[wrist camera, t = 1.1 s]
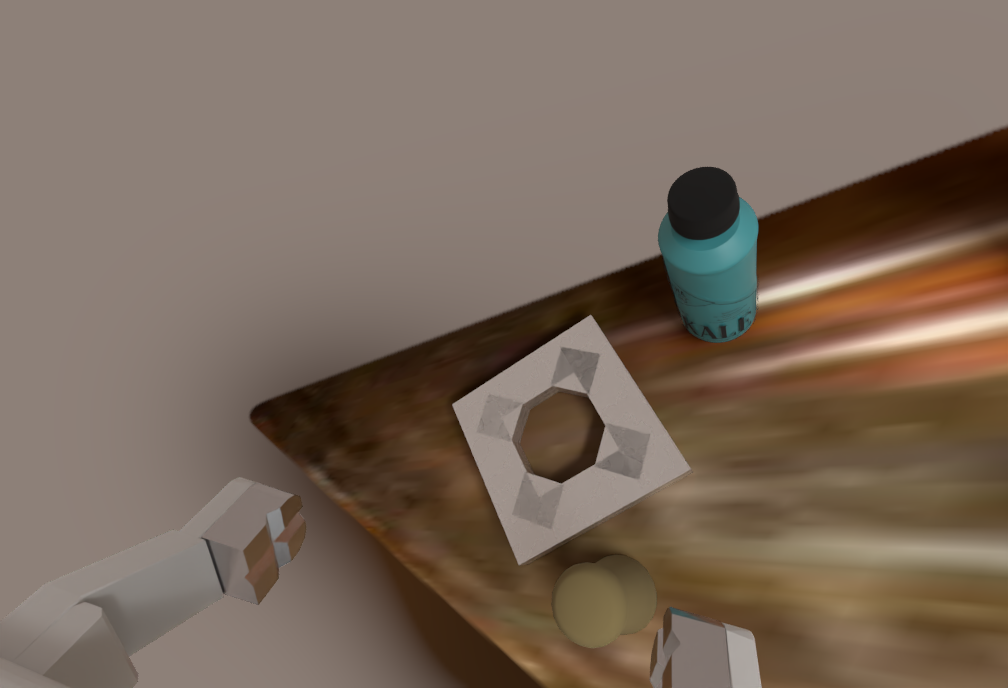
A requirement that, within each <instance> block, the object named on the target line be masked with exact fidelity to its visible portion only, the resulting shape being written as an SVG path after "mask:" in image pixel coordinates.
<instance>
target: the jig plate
mask: <svg viewBox="0 0 1008 688" xmlns="http://www.w3.org/2000/svg"><path fill="white" fill-rule="evenodd" d="M559 391H560V392H565V393H569V394H574V395H578V396H582V397H587V398H590V400H591V402H592V403H593V405H594V407H595V408H596V410H597V412H598V414H599V415H600V417H601V419H602V420H603V422H604V424H605V429H604V433H603V437H602V441H601V444H600V448H599V452H598V456H597V459H596V463H595V464H594V465H593V466H591V467H589V468H588V469H586V470H584V471H582V472H581V473H579V474H577V475H576V476H574V477H572V478H570V479H569V480H567V481H565V482H564V483H562V484H561V483H558V482H555V481H552V480H549V479H546V478H543V477H539V476H536V475H534V472H533V470H532V468H531V466H530V464H529V462H528V460H527V458H526V456H525V453H524V451H523V449H522V447H521V445H520V441H521V437H522V434H523V431H524V427H525V424H526V421H527V418H528V414H529V411H530V409H532V408H533V407H535V406H536V405H538V404H540V403H541V402H543V401H544V400H546V399H548V398H549V397H551V396H552V395H554V394H556V393H557V392H559ZM452 406H453V408H454V410H455V413H456V415H457V418H458V420H459V422H460V425H461V427H462V430H463V432H464V434H465V437H466V439H467V442H468V444H469V446H470V449H471V451H472V454H473V456H474V458H475V461H476V463H477V466H478V468H479V470H480V473H481V475H482V478H483V480H484V482H485V485H486V487H487V490H488V492H489V495H490V497H491V499H492V502H493V504H494V507H495V509H496V511H497V514H498V516H499V519H500V521H501V523H502V526H503V528H504V531H505V533H506V535H507V538H508V540H509V543H510V545H511V547H512V550H513V552H514V555H515V557H516V559H517V562H518V564H519V565H528V564H529V563H531V562H533V561H535V560H537V559H538V558H540V557H542V556H544V555H546V554H547V553H549V552H551V551H553V550H555V549H556V548H558V547H560V546H562V545H564V544H565V543H567V542H569V541H571V540H573V539H574V538H576V537H578V536H580V535H582V534H583V533H585V532H587V531H589V530H590V529H592V528H594V527H596V526H598V525H599V524H601V523H603V522H605V521H607V520H608V519H610V518H612V517H614V516H616V515H617V514H619V513H621V512H623V511H625V510H626V509H628V508H630V507H632V506H634V505H635V504H637V503H639V502H641V501H643V500H644V499H646V498H648V497H650V496H652V495H653V494H655V493H657V492H659V491H661V490H662V489H664V488H666V487H668V486H670V485H671V484H673V483H675V482H677V481H678V480H680V479H682V478H684V477H686V476H687V475H689V474H691V473H693V471H692V469H691V468H690V466H689V465H688V463H687V462H686V460H685V459H684V457H683V456H682V454H681V452H680V451H679V449H678V448H677V446H676V445H675V443H674V442H673V440H672V439H671V437H670V435H669V434H668V432H667V431H666V429H665V428H664V426H663V425H662V423H661V422H660V420H659V418H658V417H657V415H656V414H655V412H654V411H653V409H652V408H651V406H650V405H649V403H648V401H647V400H646V398H645V397H644V395H643V394H642V392H641V391H640V389H639V388H638V386H637V384H636V383H635V381H634V380H633V378H632V377H631V375H630V374H629V372H628V371H627V369H626V367H625V366H624V364H623V363H622V361H621V360H620V358H619V357H618V355H617V354H616V352H615V350H614V349H613V347H612V346H611V344H610V343H609V341H608V340H607V338H606V337H605V335H604V333H603V332H602V330H601V329H600V327H599V326H598V324H597V323H596V321H595V320H594V318H593V317H592V315H590V316H588V317H587V318H585V319H583V320H582V321H580V322H579V323H577V324H576V325H574V326H573V327H571V328H570V329H568V330H566V331H565V332H563V333H562V334H560V335H559V336H557V337H556V338H554V339H553V340H551V341H549V342H548V343H546V344H545V345H543V346H542V347H540V348H539V349H537V350H536V351H534V352H532V353H531V354H529V355H528V356H526V357H525V358H523V359H522V360H520V361H519V362H517V363H515V364H514V365H512V366H511V367H509V368H508V369H506V370H505V371H503V372H502V373H500V374H498V375H497V376H495V377H494V378H492V379H491V380H489V381H488V382H486V383H485V384H483V385H481V386H480V387H478V388H477V389H475V390H474V391H472V392H471V393H469V394H468V395H466V396H464V397H463V398H461V399H460V400H458V401H457V402H455V403H454V404H452Z"/></svg>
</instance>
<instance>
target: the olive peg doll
mask: <svg viewBox="0 0 1008 688" xmlns="http://www.w3.org/2000/svg"><path fill="white" fill-rule="evenodd" d="M551 605H552V610H553V616H554V619H555V621H556V623H557V625H558V627H559V629H560V630H561V631H562V632H563V633H564V635H565V636H566V637H567V638H568V639H570V640H571V641H573V642H575V643H576V644H578V645H580V646H584V647H589V648H597V647H604V646H606V645H607V644H609V643H611V642H612V641H614V640H615V639H617V637H618V636H619V635H627V634H633V633H636V632H638V631H640V630H642V629H643V628H645V627H646V626H647V624H648V623H649V622H650V621H651V619H652V618H653V615H654V612H655V609H656V606H657V593H656V589H655V585H654V582H653V580H652V578H651V576H650V575H649V573H648V571H647V570H646V569H645V568H644V567H643V566H642V565H641V564H640V563H639V562H638V561H636V560H634V559H632V558H630V557H628V556H623V555H616V554H615V555H611V556H606V557H604V558H602V559H601V560H599V561H597V562H596V563H589V562H584V563H580V564H575V565H573V566H571V567H570V568H568V569H566V570H565V571H564V572H563V573H562V575H561V576H560V577H559V578H558V580H557V581H556V584H555V586H554V589H553V592H552V603H551Z"/></svg>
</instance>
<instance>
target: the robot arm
mask: <svg viewBox="0 0 1008 688" xmlns="http://www.w3.org/2000/svg"><path fill="white" fill-rule="evenodd" d="M301 508H302V502H301V498H300V496H298V495H295V494H292V493H288V492H285V491H282V490H279V489H276V488H273V487H270V486H266V485H263V484H260V483H258V482H254V481H251V480H248V479H244V478H241V477H238V478H236V479H234V480H232V481H230V482H229V483H228V484H227V485H226V486H225V487H224V488H223V489H222V490H221V491H220V492H219V493H218V494H217V495H216V496H215V497H214V498H213V499H212V500H211V501H210V502H209V503H207V504H206V506H204V507H203V508H202V509H201V510H200V511H199V512H198V513H197V514H196V515H195V516H194V517H193V518H192V519H191V520H190V521H189V522H188V523H187V524H186V525H185V526H184V527H183V528H182V529H181V530H180V531H178V530H174V529H173V530H170V531H168V532H166V533H163V534H161V535H159V536H156V537H154V538H152V539H150V540H147V541H145V542H142V543H140V544H138V545H135V546H133V547H130V548H128V549H126V550H123V551H121V552H119V553H116V554H114V555H111V556H109V557H107V558H104V559H102V560H100V561H97V562H95V563H93V564H90V565H88V566H86V567H84V568H81V569H79V570H76V571H74V572H71V573H69V574H67V575H64V576H62V577H60V578H57V579H55V580H53V581H50V582H48V583H46V584H44V585H43V586H42V587H41V588H39V589H38V590H37V591H36V592H35V593H34V594H32V595H31V596H30V597H29V598H28V599H26V600H25V601H24V602H23V603H22V604H20V605H19V606H18V607H17V608H16V609H15V610H14V611H12V612H11V613H10V614H9V615H8V616H7V617H5V618H4V619H3V620H2V621H1V622H0V688H133V687H134V686H135V684H136V683H137V682H138V672H137V671H136V669H135V667H134V665H133V663H132V662H131V660H130V658H129V656H131V655H132V654H134V653H135V652H137V651H139V650H140V649H142V648H143V647H145V646H146V645H148V644H150V643H151V642H153V641H155V640H156V639H158V638H159V637H161V636H162V635H164V634H166V633H167V632H169V631H170V630H172V629H173V628H175V627H177V626H178V625H180V624H181V623H183V622H185V621H186V620H188V619H189V618H191V617H193V616H194V615H196V614H197V613H199V612H200V611H202V610H204V609H205V608H207V607H208V606H210V605H211V604H213V603H215V602H216V601H218V600H220V599H221V598H223V597H224V594H225V595H229V596H232V597H234V598H238V599H241V600H244V601H247V602H250V603H253V604H256V605H259V604H260V602H261V601H262V600H263V598H264V597H265V596H266V594H267V593H268V592H269V590H270V589H271V588H272V587H273V585H274V584H275V583H276V581H277V580H278V578H279V568H280V567H281V566H283V565H285V564H287V563H289V562H291V561H292V560H293V558H294V557H295V556H296V554H297V553H298V551H299V550H300V548H301V545H302V543H303V540H304V538H305V533H306V523H305V519H304V518H303V517H302V516H301V515H300V513H299V510H300V509H301ZM650 682H651V683H652V685H653V687H654V688H762V687H761V680H760V673H759V666H758V660H757V653H756V646H755V639H754V636H753V634H752V633H751V631H749V630H747V629H743V628H740V627H736V626H732V625H729V624H725V623H722V622H721V621H718V620H715V619H711V618H708V617H704V616H701V615H697V614H694V613H690V612H687V611H683V610H680V609H676V608H673V607H669V608H668V609H667V610H666V612H665V615H664V619H663V628H662V629H659V630H658V632H657V634H656V637H655V640H654V645H653V649H652V654H651V664H650Z"/></svg>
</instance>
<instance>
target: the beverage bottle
mask: <svg viewBox="0 0 1008 688" xmlns="http://www.w3.org/2000/svg"><path fill="white" fill-rule="evenodd" d="M667 201H668V212H667V214H666V215H665V217H664V218H663V221H662V222H661V225H660V228H659V233H658V242H659V247H660V250H661V253H662V255H663V257H664V264H665V265H664V266H665V267H666V268H667V270H666V272H667V271H668V275H669V278H670V281H671V282H670V281H669V279H668V278H667V279H668V282H670V284H671V285H672V286H670V287H671V288H673V290H672V291H674V292H673V293H672V294H674V298H675V300H674V301H675V303H676V307H677V305H678V308H679V311H680V314H681V317H682V318H681V319H682V320H683V323H684V325H685V327H686V328H687V329H688V330H689V331H690V333H691V334H693V335H694V336H696V337H698V338H700V340H701V339H702V340H703V341H704V340H705V341H707V342H708V341H709V342H713V343H720V342H727V341H731V340H732V339H736V338H738V336H739V337H740V335H743V333H744V332H745V331H746V330H747V329H748V328H749V327H750V326H751V324H752V322H753V320H754V317H755V314H756V309H757V308H756V290H757V287H758V286H757V276H756V255H757V236H758V221H757V217H756V215H755V212H754V211H753V209H752V208H751V206H750V205H749V204H748V203H747V202H746V201H744V200H743V199H742V198H740V197H739V195H738V193H737V188H736V185H735V182H734V180H733V179H732V177H731V176H730V175H729V174H728V173H727V172H725V171H724V170H721V169H719V168H714V167H700V168H696V169H693V170H690V171H688V172H686V173H684V174H683V175H682V176H680V177H679V178H678V179H677V180H676V181H675V182H674V183H673V185H672V186H671V188H670V191H669V194H668V200H667ZM662 260H663V258H662ZM662 263H663V262H662ZM666 272H665V273H666ZM666 276H667V275H666ZM670 284H669V285H670ZM758 284H759V283H758ZM757 300H758V296H757ZM678 313H679V312H678ZM755 320H756V319H755ZM755 320H754V322H755ZM753 324H754V323H753ZM682 325H683V324H682ZM750 328H751V327H750ZM750 328H749V329H750ZM749 329H748V330H749ZM746 332H747V331H746ZM693 335H692V336H693Z"/></svg>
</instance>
